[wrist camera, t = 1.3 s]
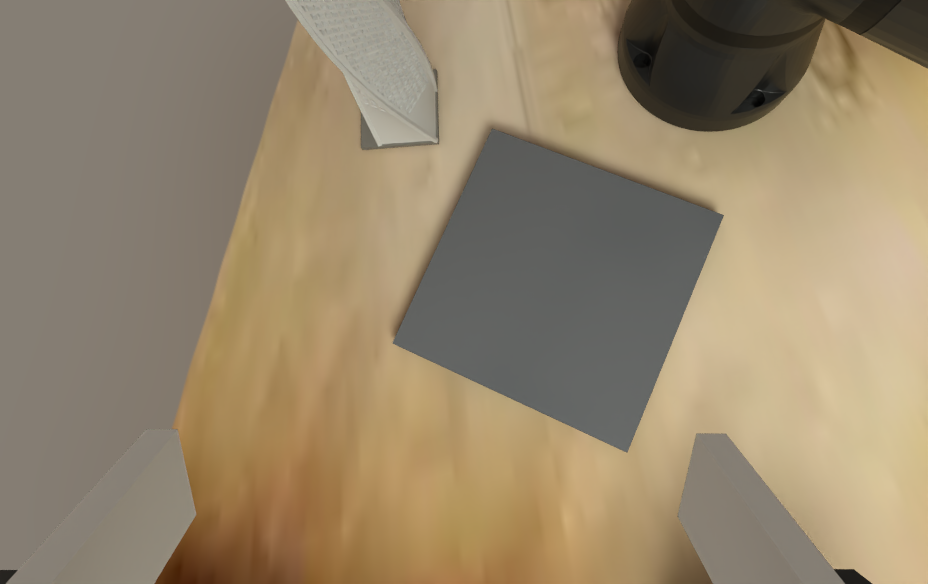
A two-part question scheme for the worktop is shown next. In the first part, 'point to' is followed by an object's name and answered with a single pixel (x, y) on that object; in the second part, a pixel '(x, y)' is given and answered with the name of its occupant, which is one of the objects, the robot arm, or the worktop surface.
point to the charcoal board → (560, 286)
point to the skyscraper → (378, 67)
